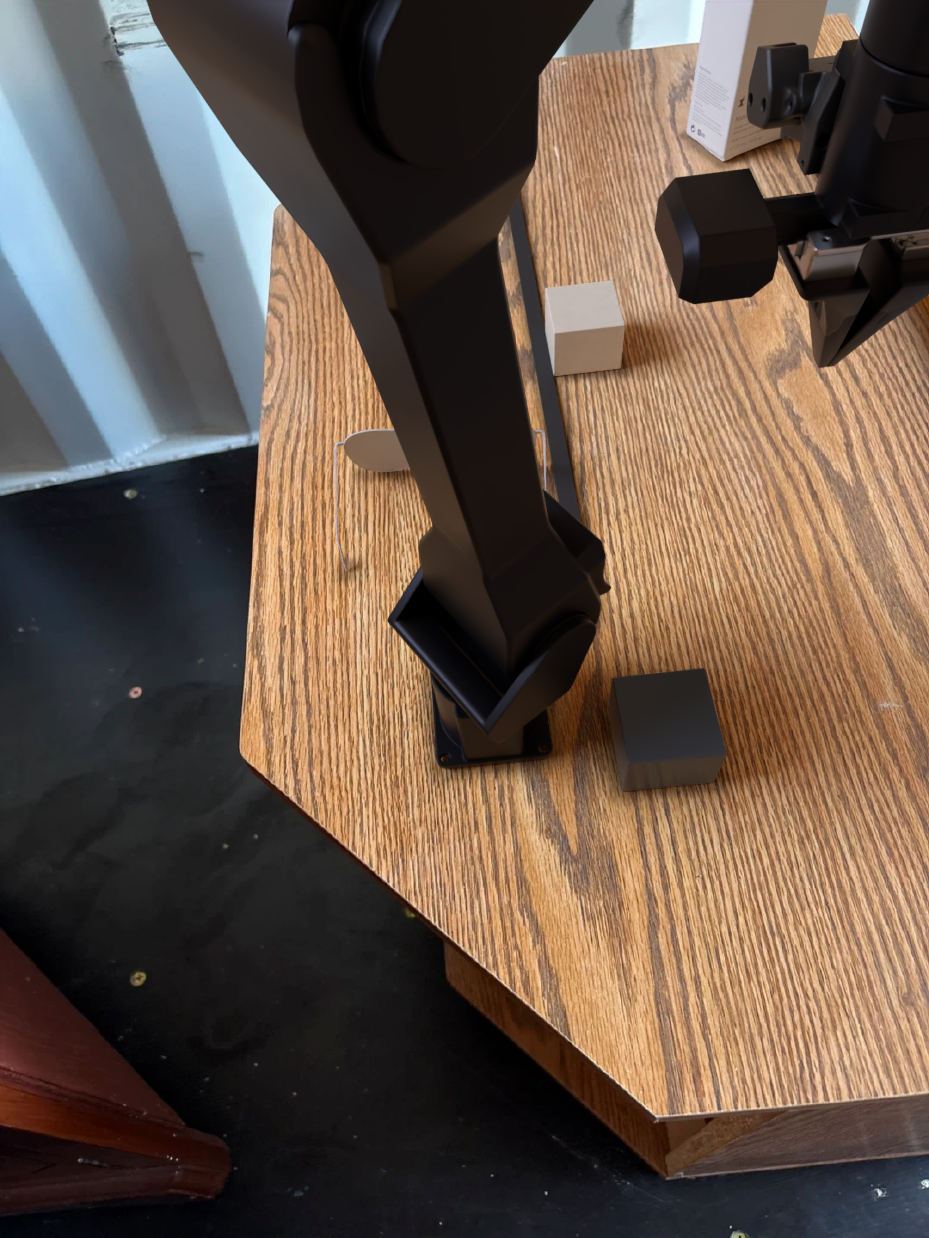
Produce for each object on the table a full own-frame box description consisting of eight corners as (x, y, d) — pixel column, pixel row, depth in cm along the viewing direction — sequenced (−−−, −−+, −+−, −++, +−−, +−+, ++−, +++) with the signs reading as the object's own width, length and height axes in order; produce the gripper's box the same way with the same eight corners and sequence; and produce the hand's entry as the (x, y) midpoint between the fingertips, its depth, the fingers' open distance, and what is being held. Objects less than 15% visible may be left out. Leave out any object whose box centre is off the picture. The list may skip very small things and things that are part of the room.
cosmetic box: (722, 164, 75) (758, -33, 63) (682, 134, 78) (708, -61, 66) (799, 133, 77) (849, -66, 64) (756, 104, 80) (796, -91, 67)
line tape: (597, 611, 52) (597, 610, 52) (578, 613, 52) (578, 612, 52) (511, 155, 79) (511, 153, 78) (498, 157, 79) (498, 155, 78)
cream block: (620, 369, 63) (625, 325, 60) (553, 376, 63) (554, 333, 60) (609, 324, 66) (613, 279, 62) (545, 331, 66) (545, 287, 62)
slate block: (714, 783, 46) (727, 754, 43) (621, 792, 46) (628, 764, 43) (694, 700, 49) (705, 667, 45) (606, 709, 49) (611, 676, 45)
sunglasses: (544, 461, 59) (545, 418, 54) (551, 570, 56) (552, 535, 51) (346, 472, 60) (330, 431, 55) (341, 581, 57) (324, 547, 52)
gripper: (1084, -80, 36) (938, 247, 50) (648, -23, 37) (619, 287, 50) (1233, 48, 30) (1023, 380, 44) (713, 115, 31) (661, 425, 44)
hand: (822, 361), depth 45 cm, fingers closed
